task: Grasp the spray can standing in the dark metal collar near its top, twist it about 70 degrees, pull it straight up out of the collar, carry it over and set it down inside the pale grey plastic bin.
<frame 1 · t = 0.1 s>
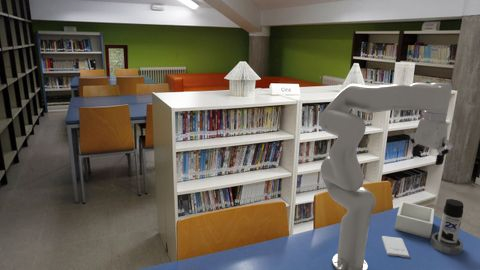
hand: (426, 160, 135), 37 cm above the table, tool pointing down, fingers open, 9 cm apart
collar: (445, 246, 145), on the table
external hard drive: (394, 248, 144), on the table
bin: (413, 225, 161), on the table
spray can: (445, 246, 146), resting in collar
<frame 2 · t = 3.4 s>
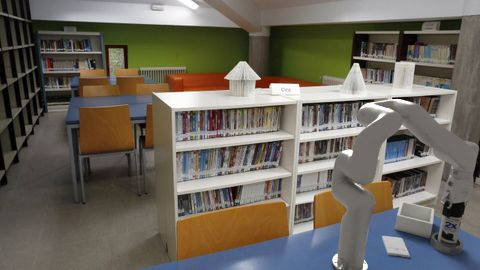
hand: (452, 214, 141), 15 cm above the table, tool pointing down, fingers closed on spray can, 6 cm apart
spray can: (445, 246, 146), resting in collar, touching gripper
everything else where it was.
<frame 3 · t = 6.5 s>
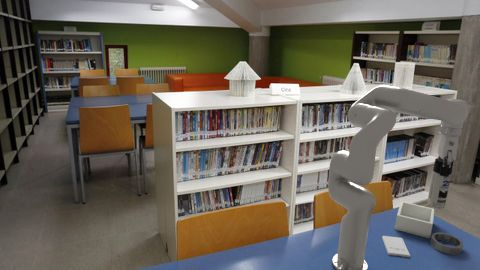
hand: (441, 172, 145), 30 cm above the table, tool pointing down, fingers closed on spray can, 6 cm apart
spray can: (435, 205, 149), point 15 cm above the table, touching gripper
everything else where it was.
when the fingers open (17 cm above the table, at t = 9.9 s): spray can drops 1 cm, resting on bin.
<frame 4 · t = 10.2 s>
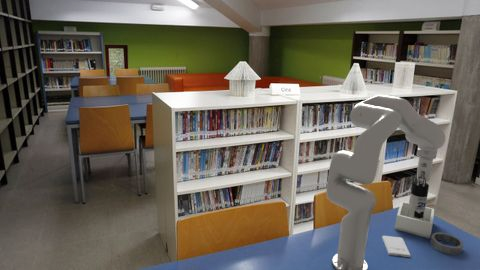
hand: (419, 190, 156), 18 cm above the table, tool pointing down, fingers open, 9 cm apart
spray can: (413, 224, 160), point 1 cm above the table, touching bin
everything else where it was.
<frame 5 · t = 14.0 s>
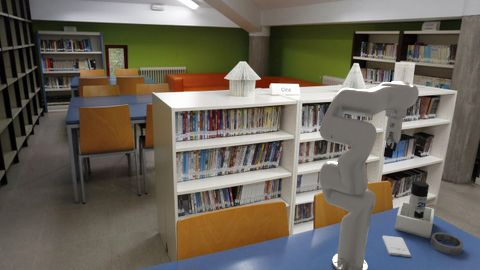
hand: (389, 153, 144), 36 cm above the table, tool pointing down, fingers open, 9 cm apart
nothing on the table moved.
at the end: spray can inside the target area on the bin (0.4 cm from its centre), point 0.8 cm above the bin's base; the gripper is holding nothing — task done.
